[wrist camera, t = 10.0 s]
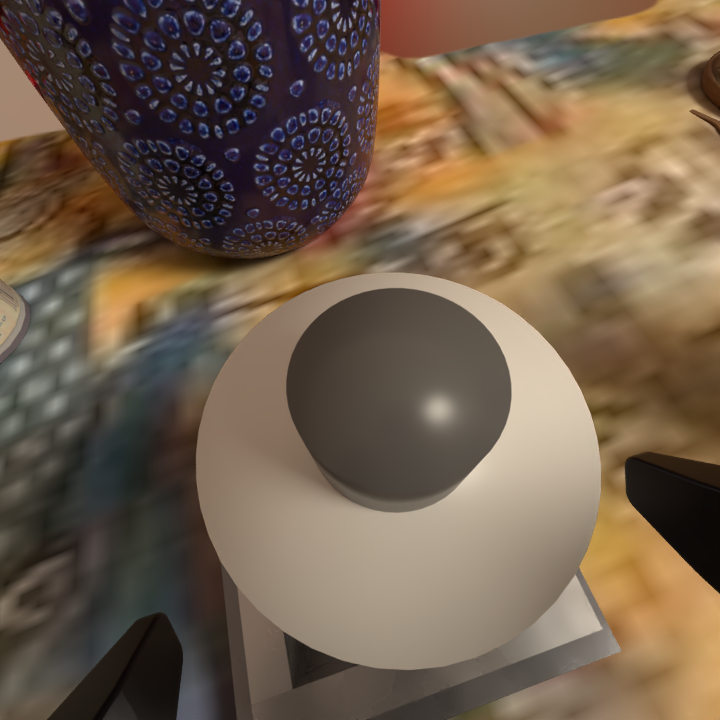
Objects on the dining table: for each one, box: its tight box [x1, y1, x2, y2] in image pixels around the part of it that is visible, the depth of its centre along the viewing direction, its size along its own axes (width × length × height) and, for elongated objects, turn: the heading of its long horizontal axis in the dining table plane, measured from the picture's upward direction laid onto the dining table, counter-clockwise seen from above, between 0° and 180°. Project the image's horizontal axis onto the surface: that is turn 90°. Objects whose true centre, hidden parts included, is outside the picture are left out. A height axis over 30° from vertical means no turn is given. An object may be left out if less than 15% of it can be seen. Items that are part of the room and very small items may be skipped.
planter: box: [0, 0, 381, 259], centre depth 21 cm, size 16×17×15 cm
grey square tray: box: [221, 563, 621, 720], centre depth 15 cm, size 13×13×4 cm
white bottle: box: [196, 273, 601, 670], centre depth 10 cm, size 6×6×13 cm
